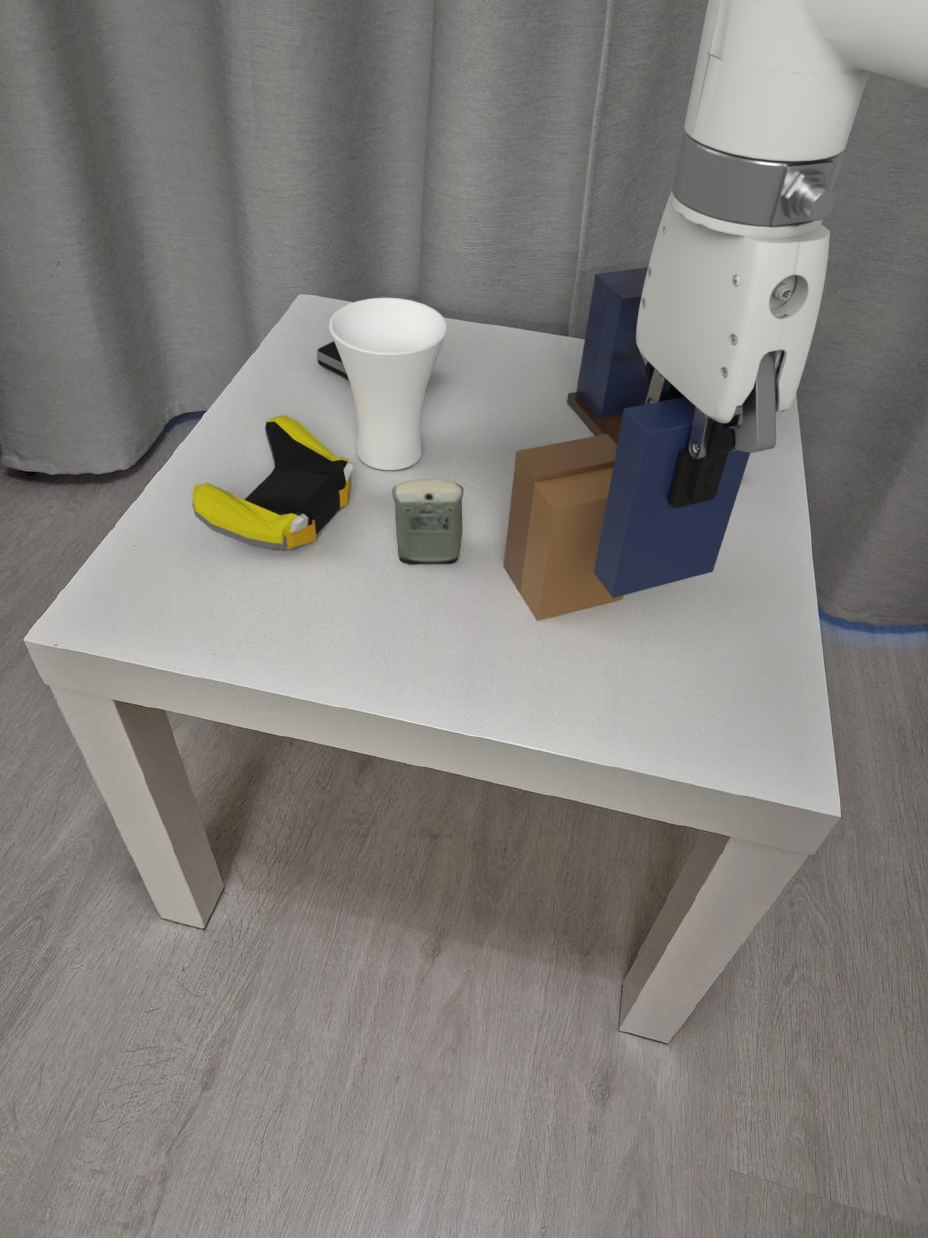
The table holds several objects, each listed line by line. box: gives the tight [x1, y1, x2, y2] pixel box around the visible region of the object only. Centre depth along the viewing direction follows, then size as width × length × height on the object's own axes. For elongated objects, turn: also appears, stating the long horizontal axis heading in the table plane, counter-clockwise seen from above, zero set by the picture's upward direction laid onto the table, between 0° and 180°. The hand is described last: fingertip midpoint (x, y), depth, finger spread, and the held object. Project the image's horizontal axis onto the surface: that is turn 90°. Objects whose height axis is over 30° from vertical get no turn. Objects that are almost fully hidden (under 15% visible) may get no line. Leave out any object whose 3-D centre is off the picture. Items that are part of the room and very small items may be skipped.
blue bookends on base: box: [566, 266, 649, 445], centre depth 86 cm, size 10×18×14 cm, turn 22°
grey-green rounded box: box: [391, 478, 465, 566], centre depth 74 cm, size 6×5×8 cm
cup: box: [328, 297, 448, 471], centre depth 82 cm, size 10×10×14 cm
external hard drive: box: [316, 340, 349, 380], centre depth 97 cm, size 7×11×2 cm, turn 51°
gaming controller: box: [192, 414, 355, 551], centre depth 78 cm, size 15×6×10 cm
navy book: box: [594, 397, 751, 598], centre depth 56 cm, size 8×3×13 cm, turn 112°
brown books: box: [503, 434, 625, 622], centre depth 71 cm, size 8×7×12 cm
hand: (676, 482), depth 56 cm, fingers closed on navy book, 2 cm apart
